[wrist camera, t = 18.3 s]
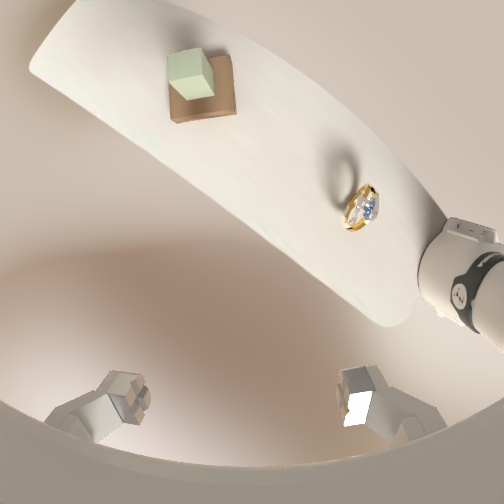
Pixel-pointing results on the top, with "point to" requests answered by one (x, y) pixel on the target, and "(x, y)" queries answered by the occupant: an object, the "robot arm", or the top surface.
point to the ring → (361, 198)
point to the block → (191, 73)
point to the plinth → (209, 105)
